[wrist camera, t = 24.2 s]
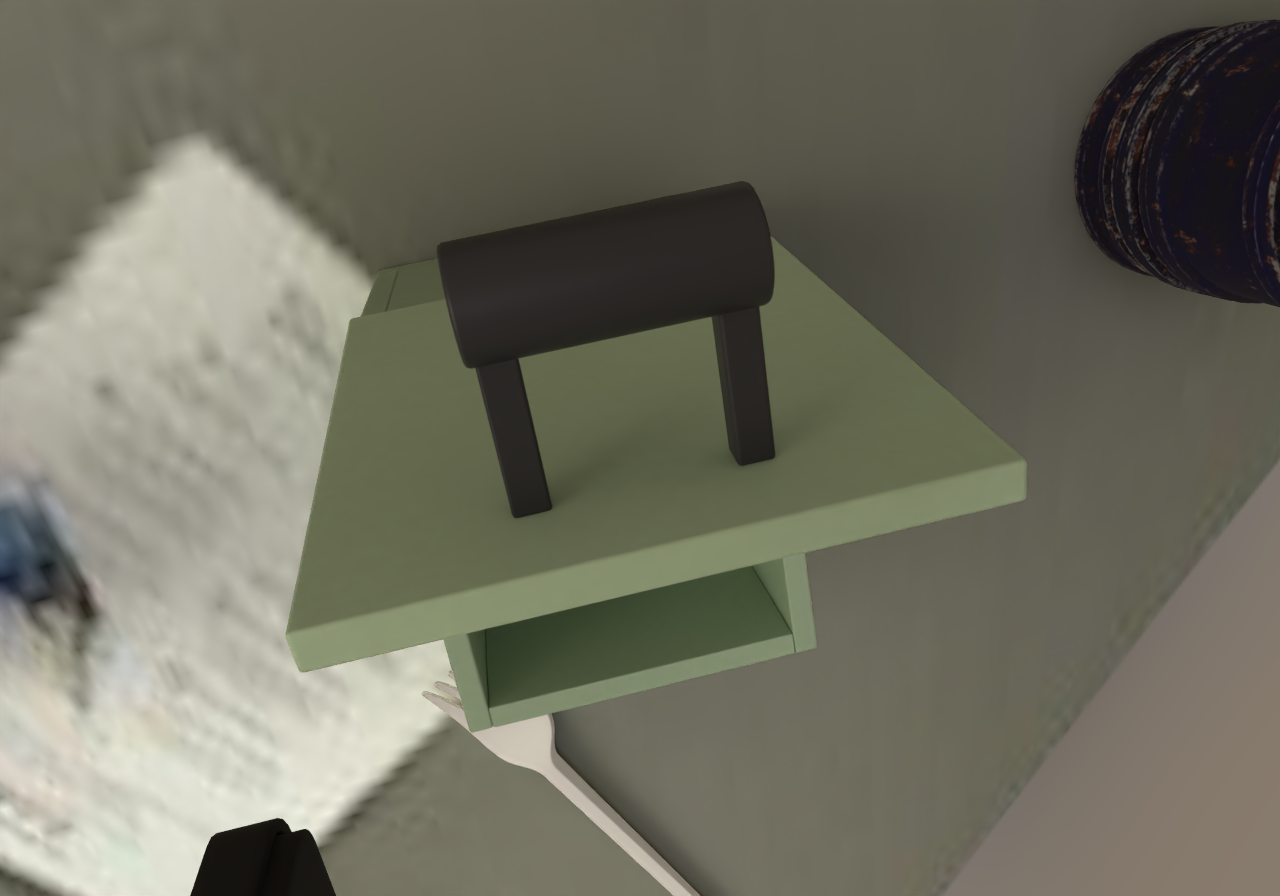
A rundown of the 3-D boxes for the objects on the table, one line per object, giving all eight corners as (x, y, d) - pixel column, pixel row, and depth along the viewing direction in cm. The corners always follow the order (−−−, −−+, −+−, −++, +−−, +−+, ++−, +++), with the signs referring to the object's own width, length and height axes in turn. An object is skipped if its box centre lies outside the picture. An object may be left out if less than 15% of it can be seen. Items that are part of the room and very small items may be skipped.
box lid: (1028, 502, 17) (1035, 164, 15) (299, 676, 16) (167, 345, 14) (769, 257, 30) (748, 56, 28) (356, 344, 29) (295, 143, 27)
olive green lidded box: (748, 536, 44) (818, 648, 36) (468, 602, 43) (470, 734, 35) (697, 204, 39) (764, 241, 31) (378, 270, 38) (354, 327, 30)
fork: (689, 935, 51) (697, 966, 50) (414, 676, 44) (412, 701, 42) (742, 897, 51) (752, 926, 49) (473, 630, 44) (474, 653, 42)
